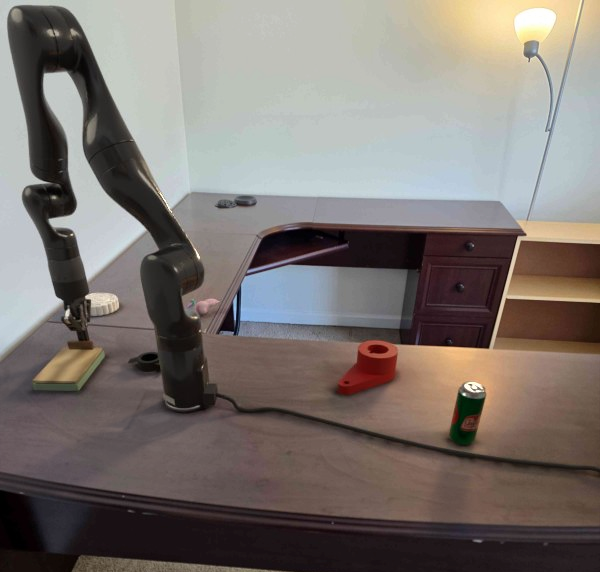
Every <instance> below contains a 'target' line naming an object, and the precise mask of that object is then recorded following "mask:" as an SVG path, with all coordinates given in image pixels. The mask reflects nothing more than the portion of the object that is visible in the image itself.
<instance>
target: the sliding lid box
mask: <svg viewBox="0 0 600 572" xmlns="http://www.w3.org/2000/svg"><path fill="white" fill-rule="evenodd" d="M105 357H106V356H105V350H103V349H102V351H101V352H100V353H99V355H98V356H97V357H96V358H95V360H94V361H93V362H92V364H91V365H90V366H89V367H88V369H87V370H86V371H85V373H84V374H83V375H82V376H81V378H80V379H79V380H78V381H77V383H33V382H32V387H33V391H59V392H61V391H62V392H63V391H67V392H68V391H69V392H70V391H72V392H74V391H75V392H78V391H80V390H81V389H82V387H83V386H84V385H85V383H86V382H87V381H88V380H89V378H90V377H91V376H92V374H93V372H94V371H95V370H96V369H97V367H98V366H99V365H100V363H101V362H102V361H103V359H105Z"/></svg>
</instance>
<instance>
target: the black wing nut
mask: <svg viewBox="0 0 600 572" xmlns="http://www.w3.org/2000/svg"><path fill="white" fill-rule="evenodd" d="M127 364H133V365H137V366H138V370H139V371H140V372H143V373H144V372H145V373H152V372H155V373H158V372H161V369H160V363H159V356H158V351H157V352H156V351H147V352H143V353H141V354H139V355H137V356H135V357H132V358H130V359H128V361H127Z"/></svg>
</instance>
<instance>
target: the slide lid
mask: <svg viewBox="0 0 600 572" xmlns="http://www.w3.org/2000/svg"><path fill="white" fill-rule="evenodd" d="M66 344H67V346H63V347H62V348H61V349H60V350H59V351H58V352H57V354H56V355H55V356H54V357H53V358H52V359H51V360H50V361H49V362H48V363H47V364H46V365H45V367H43V369H41V371H40V372H39V373H38V374H37V375H36V376H35V377H34V378H32V380H31V381H32V384H33V383H77V381H78V380H79V379H80V378H81V376H82V375H83V374H84V373H85V371H86V370H87V369H88V367H89V366H90V365H91V364H92V362H93V361H94V360H95V358H96V357H97V356H98V355H99V353H100V352H101V351H102V350H103V348H102V347H95V346H94V341H93V340H90V341H78V340H67V342H66Z"/></svg>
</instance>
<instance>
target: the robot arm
mask: <svg viewBox="0 0 600 572" xmlns="http://www.w3.org/2000/svg"><path fill="white" fill-rule="evenodd" d="M6 31H7V40H8V45H9V50H10V55H11V60H12V65H13V69H14V73H15V79H16V83H17V88H18V92H19V96H20V101H21V105H22V108H23V113H24V119H25V125H26V130H27V131H26V132H27V141H28V142H27V145H28V161H29V168H30V169H29V170H30V172H31V173H32V176H34V178H37V180H39V181H41V182H44V183H36V184H34V183H33V184H28V185H26V186H24V188H23V190H22V191H21V201H22V204H23V207H24V209H25V211H26V213H27V214H28V216H29V218H30V219H31V221H32V222H33V224H34V226H35V228H36V230H37V231H38V235H39V237H40V239H41V241H42V245H43V248H44V252H45V255H46V261H47V268H48V273H49V276H50V281H51V285H52V288H53V291H54V294H55V297H56V298H57V299H60V300H61V301H63V310H64V312H65V315H63V316H61V317H60V321H61V322H62V324H64V326H66V328H67V329H68V330H69V331H71V332H76V337H77V341H91V339H90V335H89V332H88V331H89V330H88V327H89V323H91V316H90V314H91V299H86V298H85V296H87V295H89V294H90V288H89V283H88V279H87V275H86V269H85V265H84V261H83V259H82V257H81V253H80V249H79V244H78V240H77V235H76V233H75V232H74V230H73V229H71V228H68V227H61V226H53V225H52V224H51V222H50V220H52V219H59V218H66V217H70V216H72V215H74V214H75V212H76V211H77V208H78V199H77V197H76V193H75V190H74V188H73V184H72V180H71V176H70V171H69V141H68V137H67V134H66V131H65V129H64V126H63V124H62V123H61V122H60V120H59V118H58V117H57V115H56V114H55V112H54V111H53V109H52V107H51V106H50V103H49V102H48V100H47V97H46V95H45V89H44V88H45V87H44V77H45V74H60V73H61V74H62V73H66V74H67V75H68V76H69V77H70V79H71V81H72V83H73V84H74V86H75V88H76V90H77V93H78V95H79V98H80V100H81V105H82V128H81V129H82V131H81V139H82V140H81V142H82V151H83V155H84V157H85V159H86V161H87V163H88V166H89V167H90V169H91V171H92V173H93V175H94V176H95V178H96V180H97V182H98V184H99V185H100V187H101V189H102V190H103V192H104V193H105V194H106V195H107V196H108V197H109V198H110V199H111V200H112V201H113V202H114V203H116V204H117V205H118V206H119V207H120V208H122V209H123V210H124V211H125V212H126V213H128V214H129V215H130V216H132V217H133V218H134V219H135V220H136V221H137V222H139V224H141V225H142V226H143V228H144V229H145V230H146V231H147V233H148V234H149V235H150V237H151V238H152V240H153V242H154V243H155V245H156V247H157V249H158V250H155V251H152V252H149V253H147V254H146V255H145V256H144V257H143V258H142V260H141V262H140V267H139V275H140V276H139V277H140V283H141V288H142V292H143V297H144V301H145V305H146V312H147V314H148V318H149V320H150V321H151V323H152V325H153V329H154V338H155V342H156V349H157V353H158V356H159V363H160V369H161V371H160V374H161V382H162V387H163V393H162V397H163V400H164V404H165V407H166V408H167V409H168V410H170V411H173V412H177V413H192V412H197V411H199V410H205V409H207V407H208V406H216V403H217V400H218V398H219V399H223V400H226V401H228V402H230V403H231V404H232V405H233V407H234V408H235V409H236V410H237V411H239V412H242V413H249V414H251V413H252V414H253V413H261V412H275V413H281V414H284V415H285V414H286V415H290V416H294V417H297V418H302V419H306V420H310V421H314V422H317V423H322V424H326V425H330V426H333V427H337V428H340V429H344V430H349V431H351V432H356V433H360V434H363V435H368V436H371V437H374V438H379V439H383V440H386V441H390V442H395V443H397V444H403V445H406V446H410V447H415V448H419V449H424V450H430V451H434V452H439V453H443V454H450V455H455V456H459V457H467V458H473V459H480V460H487V461H493V462H501V463H507V464H508V463H509V464H515V465H526V466H536V467H545V468H546V467H547V468H555V469H556V468H557V469H565V470H572V471H573V470H574V471H577V470H578V471H591V472H593V471H594V472H597V473H599V474H600V467H599V466H595V465H587V464H584V465H583V464H582V465H581V464H567V463H560V462H549V461H538V460H528V459H519V458H510V457H502V456H501V457H500V456H495V455H487V454H481V453H474V452H467V451H463V450H457V449H456V450H455V449H451V448H445V447H441V446H436V445H435V446H434V445H430V444H425V443H420V442H416V441H412V440H408V439H403V438H398V437H394V436H390V435H386V434H383V433H378V432H376V431H371V430H367V429H364V428H359V427H356V426H352V425H348V424H344V423H341V422H337V421H333V420H329V419H325V418H320V417H317V416H313V415H310V414H305V413H301V412H298V411H293V410H289V409H285V408H279V407H272V406H266V407H256V408H245V407H242V406H240V405H238V403H237V401H236V400H235V399H234V398H232V397H230V396H228V395H225V394H223V393H220V392H219V391H218V383H214V382H213V383H212V382H211V383H210V375H209V366H208V365H209V364H208V357H207V356H205V350H204V342H203V341H204V340H203V330H202V329H203V328H202V320H201V319H202V318H201V315H199V314H198V313H197V312H196V311H194V309H192V308H191V309H190V308H189V309H187V307H185V306H184V301H183V297H184V296H187V295H188V294H191V293H193V292H195V291H196V290H198V289H200V288H201V287H202V286H203V284H204V283H205V278H206V272H205V267H204V263H203V261H202V258H201V256H200V254H199V253H198V251H197V249H196V247H195V245H194V244H193V243H192V241H191V239H190V238H189V236H188V235H187V233H186V231H185V230H184V229H183V227H182V226H181V224H180V222H179V221H178V219H177V218H176V216H175V214H174V212H173V210H172V209H171V208H170V206H169V204H168V202H167V200H166V198H165V196H164V195H163V192H162V191H161V189H160V187H159V185H158V184H157V181H156V180H155V178H154V176H153V174H152V172H151V170H150V168H149V166H148V163H147V161H146V160H145V158H144V156H143V154H142V152H141V150H140V148H139V146H138V144H137V142H136V140H135V138H134V137H133V135H132V133H131V131H130V130H129V128H128V126H127V124H126V122H125V119H124V118H123V115H122V114H121V112H120V110H119V108H118V106H117V104H116V101H115V99H114V97H113V95H112V93H111V92H110V90H109V87H108V85H107V83H106V80H105V77H104V75H103V73H102V70H101V68H100V66H99V62H98V61H97V58H96V56H95V54H94V53H95V52H94V51H93V49H92V46H91V44H90V42H89V39H88V37H87V35H86V33H85V31H84V29H83V27H82V25H81V24H80V21H79V20H78V19H77V18H76V16H75V14H73V13H72V12H71V10H69V9H68V8H66V7H64V6H60V5H43V4H41V5H38V4H36V5H35V4H18V5H13V6H12V7H11V8H10V9H9V11H8V14H7V18H6Z"/></svg>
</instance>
